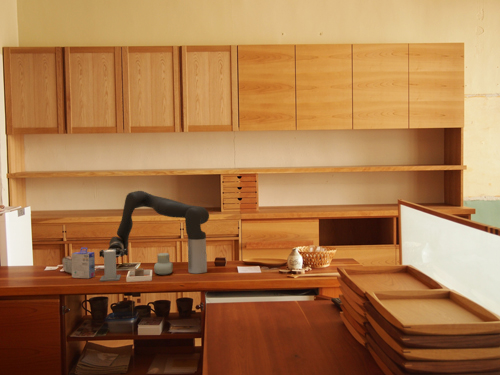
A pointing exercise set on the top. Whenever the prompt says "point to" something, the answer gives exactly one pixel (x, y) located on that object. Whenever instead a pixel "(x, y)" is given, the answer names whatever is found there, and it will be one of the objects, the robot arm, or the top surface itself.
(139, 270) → the walnut block
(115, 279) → the pad
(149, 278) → the bin rim
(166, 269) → the air freshener
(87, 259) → the ink cartridge box
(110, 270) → the label box
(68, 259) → the tin
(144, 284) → the top surface
